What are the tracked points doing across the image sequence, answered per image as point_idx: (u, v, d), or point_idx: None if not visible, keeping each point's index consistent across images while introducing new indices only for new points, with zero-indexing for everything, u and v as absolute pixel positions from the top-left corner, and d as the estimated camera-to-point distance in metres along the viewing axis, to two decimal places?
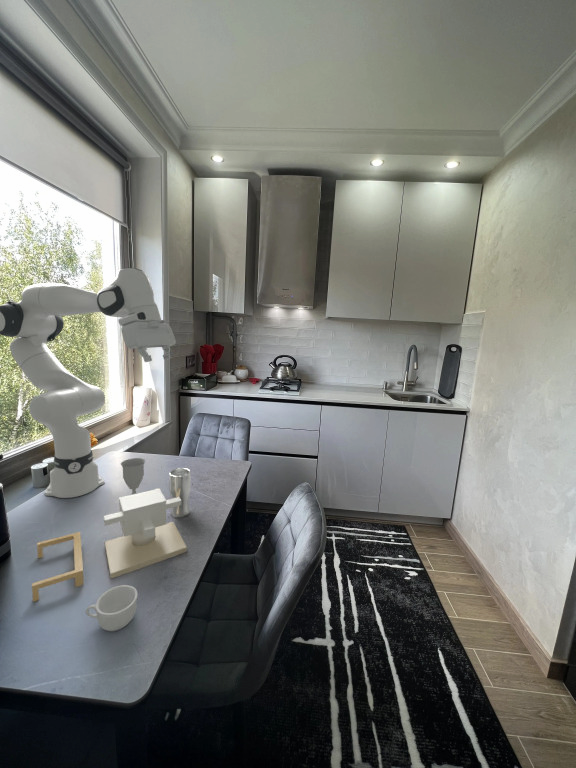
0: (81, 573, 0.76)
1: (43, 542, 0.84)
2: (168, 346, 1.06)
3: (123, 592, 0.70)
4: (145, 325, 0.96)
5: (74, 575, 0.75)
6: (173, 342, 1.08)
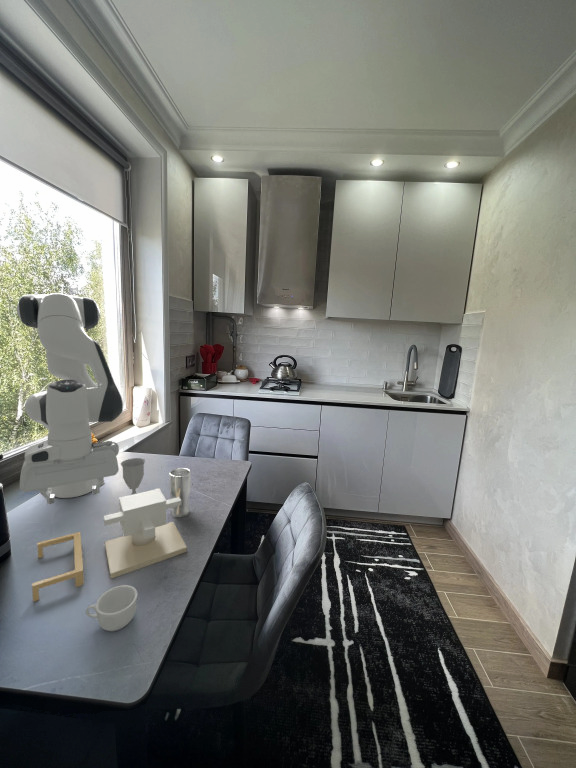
0: (81, 573, 0.76)
1: (43, 542, 0.84)
2: (100, 479, 0.81)
3: (123, 592, 0.70)
4: (50, 464, 0.74)
5: (74, 575, 0.75)
6: (110, 474, 0.82)
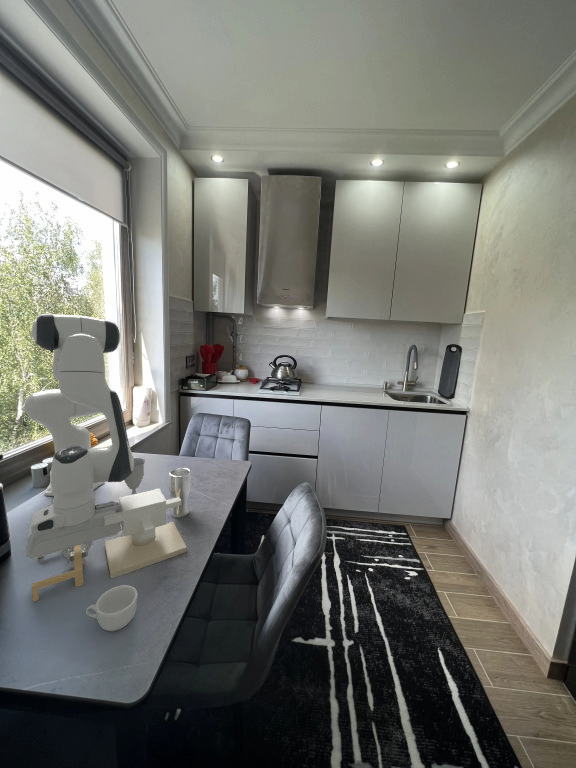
0: (81, 573, 0.76)
1: None
2: (89, 542, 0.83)
3: (123, 592, 0.70)
4: (55, 531, 0.76)
5: (74, 575, 0.75)
6: (113, 533, 0.85)
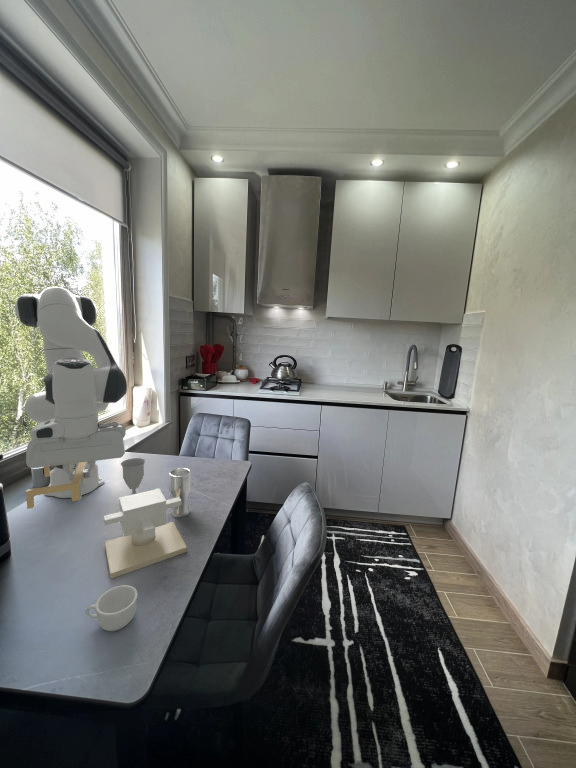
0: (77, 487, 0.71)
1: None
2: (91, 462, 0.78)
3: (123, 592, 0.70)
4: (55, 442, 0.73)
5: (70, 488, 0.71)
6: (116, 456, 0.80)
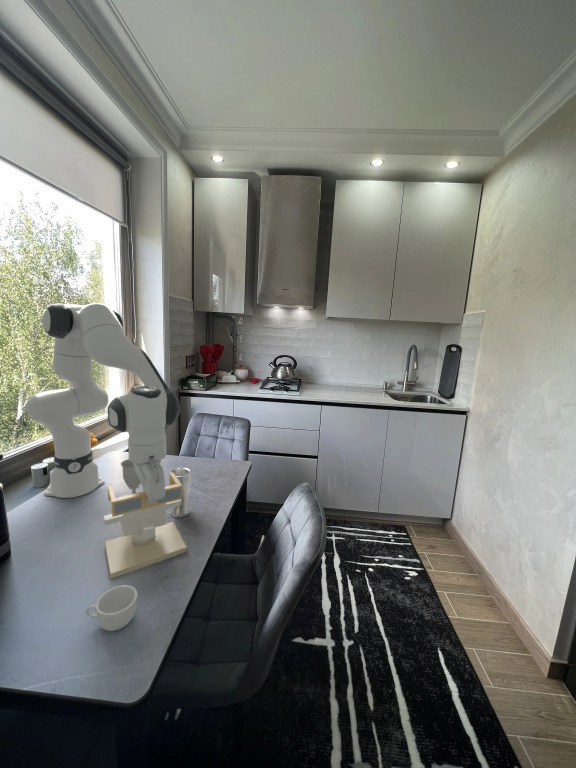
0: (111, 504, 0.77)
1: (171, 474, 0.92)
2: None
3: (123, 592, 0.70)
4: None
5: (111, 501, 0.78)
6: (147, 497, 0.74)
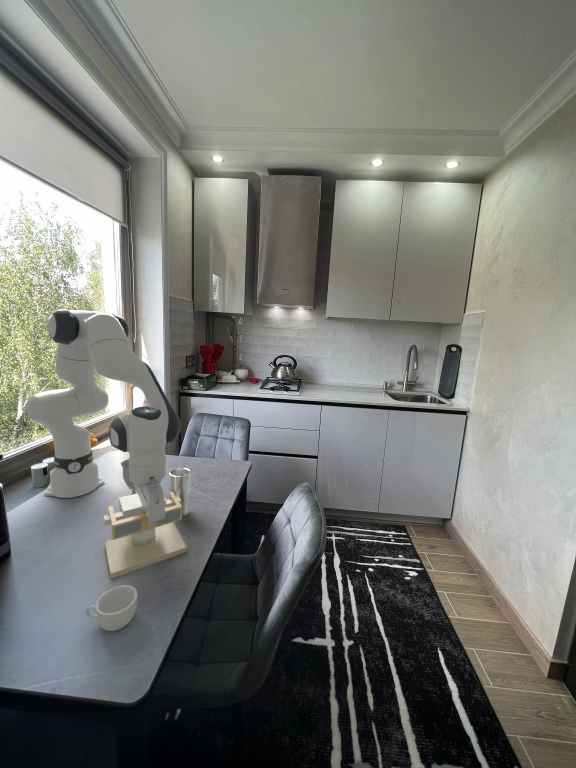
0: (112, 527, 0.78)
1: (171, 493, 0.93)
2: None
3: (123, 592, 0.70)
4: None
5: (111, 524, 0.79)
6: (147, 518, 0.75)
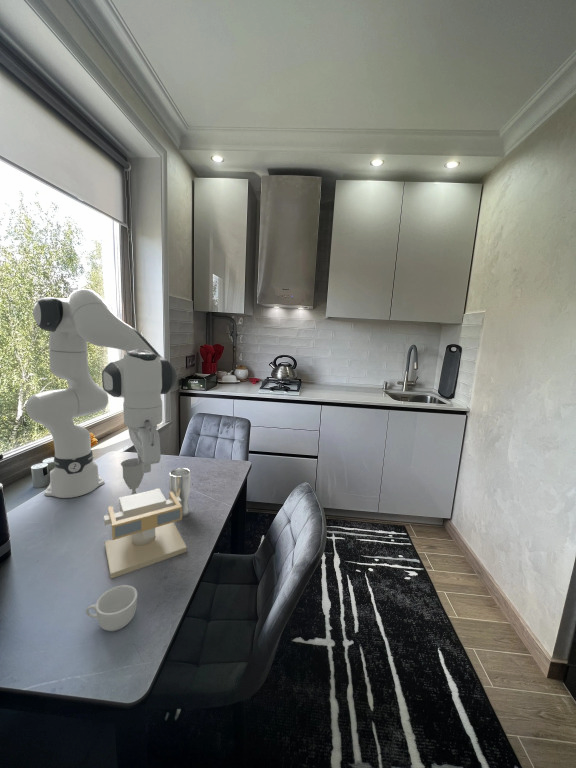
0: (112, 527, 0.78)
1: (171, 493, 0.93)
2: None
3: (123, 592, 0.70)
4: None
5: (111, 524, 0.79)
6: (142, 461, 0.73)
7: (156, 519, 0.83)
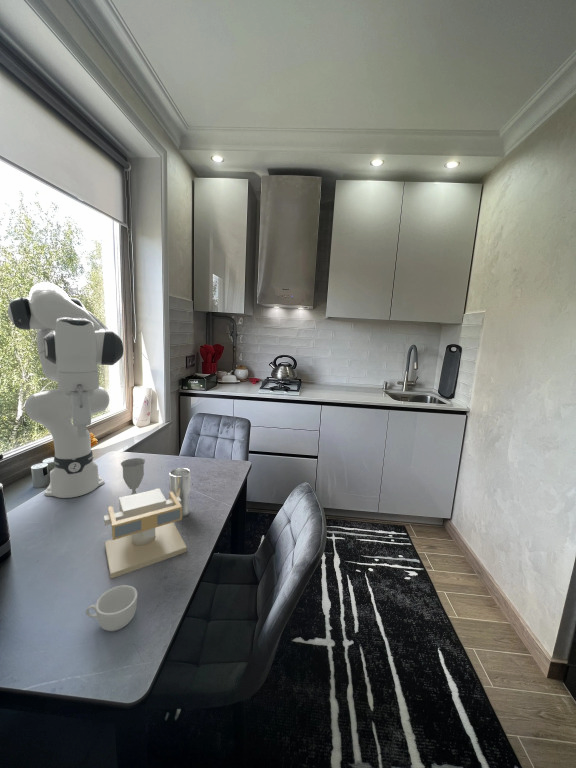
0: (112, 527, 0.78)
1: (171, 493, 0.93)
2: None
3: (123, 592, 0.70)
4: None
5: (111, 524, 0.79)
6: None
7: (156, 519, 0.83)
